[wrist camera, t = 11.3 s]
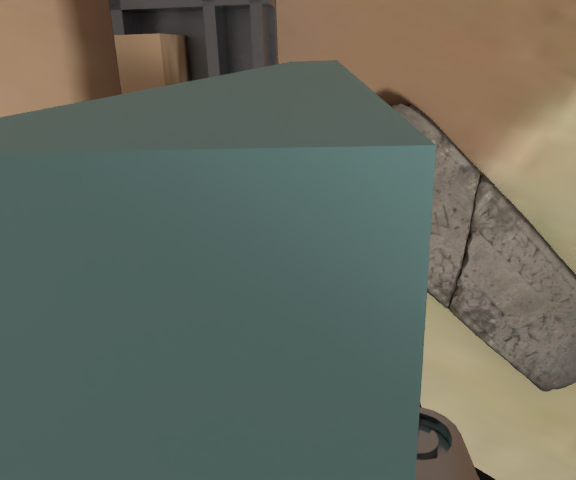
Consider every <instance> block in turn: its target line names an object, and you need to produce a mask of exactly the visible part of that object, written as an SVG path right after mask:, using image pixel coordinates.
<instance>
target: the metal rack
mask: <svg viewBox="0 0 576 480" xmlns="http://www.w3.org/2000/svg"><path fill="white" fill-rule="evenodd" d="M109 6H110V13H111V21H112V28H113V35H132V34H158V33H160V34H173V35H186V36H187V39H188V50H189V61H190V71H191V81H193V80H199V79H204V78H209V77H214V76H220V75H225V74H230V73H235V72H240V71H246V70H251V69H256V68H261V67H266V66H272V65H277V64H278V46H277V20H276V0H109ZM114 42H115V40H114ZM115 50H116V47H115ZM116 57H117V55H116ZM117 64H118V62H117ZM118 71H119V69H118ZM119 79H120V76H119ZM120 86H121V84H120ZM121 93H122V91H121Z"/></svg>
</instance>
